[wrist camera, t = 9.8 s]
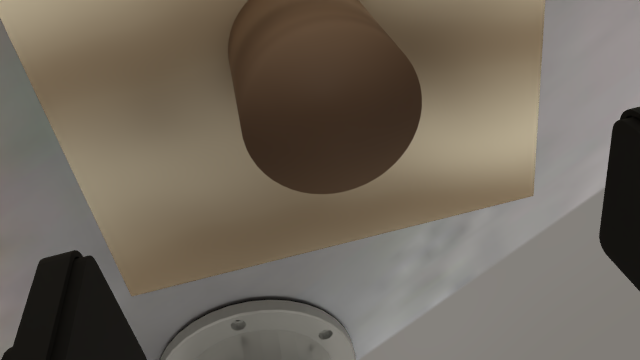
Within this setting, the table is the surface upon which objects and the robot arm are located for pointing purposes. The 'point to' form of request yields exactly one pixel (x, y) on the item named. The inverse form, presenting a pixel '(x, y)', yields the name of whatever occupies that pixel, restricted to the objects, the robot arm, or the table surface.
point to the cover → (280, 119)
